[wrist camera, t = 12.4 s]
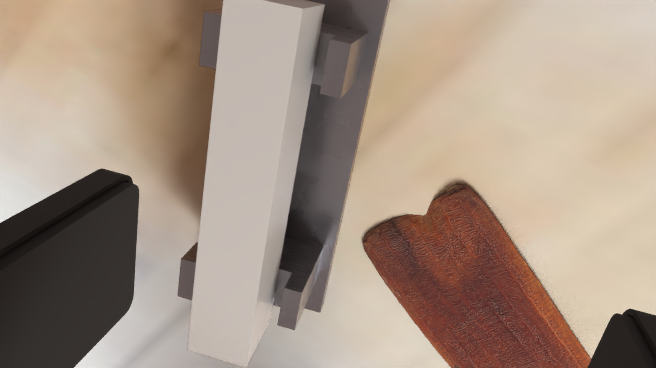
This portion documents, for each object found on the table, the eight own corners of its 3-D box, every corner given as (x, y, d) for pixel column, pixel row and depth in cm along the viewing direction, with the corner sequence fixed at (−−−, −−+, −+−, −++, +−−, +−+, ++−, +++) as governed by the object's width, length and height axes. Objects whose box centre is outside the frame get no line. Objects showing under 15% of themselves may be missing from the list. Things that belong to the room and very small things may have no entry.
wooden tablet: (355, 236, 42) (351, 245, 41) (466, 171, 39) (467, 179, 37) (532, 474, 47) (534, 491, 45) (647, 436, 43) (655, 453, 42)
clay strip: (324, 4, 30) (303, 8, 26) (269, 321, 39) (246, 367, 34) (257, -10, 31) (224, -9, 26) (217, 306, 39) (187, 349, 35)
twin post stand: (392, -14, 35) (378, -12, 28) (323, 304, 44) (298, 368, 37) (246, -44, 36) (195, -50, 29) (209, 272, 46) (163, 327, 38)
